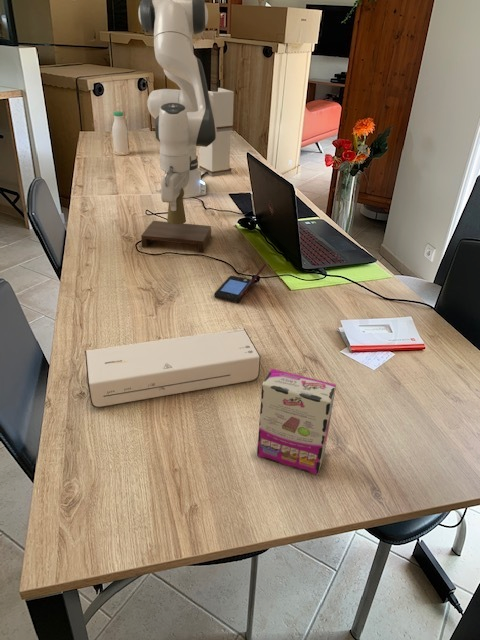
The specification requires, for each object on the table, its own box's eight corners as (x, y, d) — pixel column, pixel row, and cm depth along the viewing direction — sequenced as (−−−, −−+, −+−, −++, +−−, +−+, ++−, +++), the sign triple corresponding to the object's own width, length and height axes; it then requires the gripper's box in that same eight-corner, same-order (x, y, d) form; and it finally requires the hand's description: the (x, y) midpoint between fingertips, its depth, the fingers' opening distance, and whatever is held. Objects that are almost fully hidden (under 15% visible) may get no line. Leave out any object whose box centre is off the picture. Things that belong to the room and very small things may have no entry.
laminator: (91, 409, 94) (87, 384, 91) (88, 370, 104) (84, 346, 101) (259, 380, 103) (260, 356, 100) (241, 347, 113) (242, 324, 110)
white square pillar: (231, 173, 230) (233, 91, 211) (212, 176, 225) (212, 92, 206) (218, 167, 238) (219, 87, 219) (199, 169, 232) (198, 88, 214)
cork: (182, 225, 155) (182, 191, 149) (164, 223, 155) (163, 189, 150) (188, 218, 160) (187, 185, 154) (170, 216, 160) (169, 183, 155)
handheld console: (230, 278, 141) (231, 254, 137) (265, 286, 138) (267, 262, 134) (212, 298, 131) (212, 273, 127) (250, 307, 128) (251, 282, 124)
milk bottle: (127, 156, 248) (124, 113, 237) (112, 155, 248) (108, 113, 237) (131, 152, 255) (127, 110, 244) (116, 151, 255) (112, 110, 244)
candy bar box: (324, 455, 87) (338, 383, 78) (318, 476, 83) (331, 403, 74) (264, 437, 90) (271, 366, 81) (255, 456, 86) (261, 384, 77)
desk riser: (153, 231, 168) (153, 220, 166) (211, 237, 166) (211, 225, 164) (141, 247, 157) (141, 235, 155) (203, 253, 155) (203, 241, 153)
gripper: (176, 173, 139) (177, 219, 146) (192, 155, 156) (193, 197, 163) (154, 171, 139) (157, 217, 147) (173, 153, 156) (174, 196, 164)
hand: (176, 207), depth 155 cm, fingers closed on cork, 4 cm apart
